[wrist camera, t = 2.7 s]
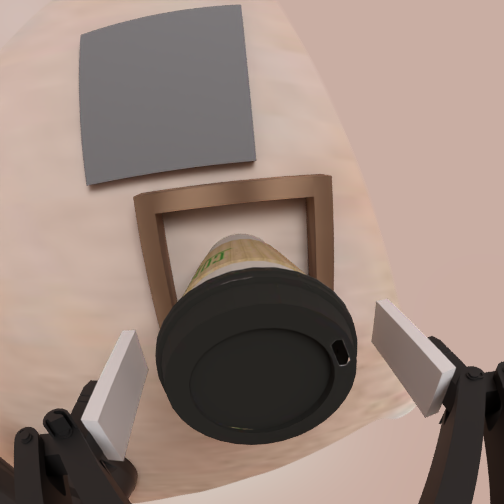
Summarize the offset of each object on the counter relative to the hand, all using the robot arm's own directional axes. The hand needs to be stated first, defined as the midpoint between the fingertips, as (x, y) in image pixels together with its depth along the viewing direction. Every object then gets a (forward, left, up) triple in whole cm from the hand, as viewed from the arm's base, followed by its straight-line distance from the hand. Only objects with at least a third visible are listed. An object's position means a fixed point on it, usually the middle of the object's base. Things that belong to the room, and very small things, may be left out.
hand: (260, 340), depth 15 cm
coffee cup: (0, 0, -12) cm, 12 cm away
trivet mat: (-5, +16, -11) cm, 20 cm away
